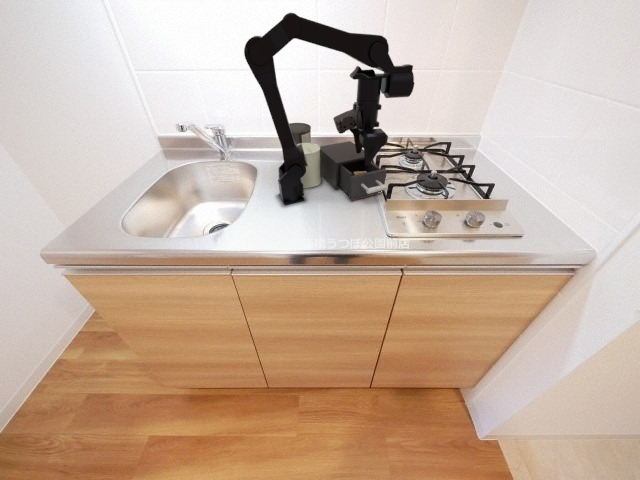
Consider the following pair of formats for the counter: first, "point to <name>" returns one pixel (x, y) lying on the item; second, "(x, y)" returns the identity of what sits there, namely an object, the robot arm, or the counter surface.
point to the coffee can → (301, 132)
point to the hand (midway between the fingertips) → (362, 159)
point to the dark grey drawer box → (337, 159)
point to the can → (311, 165)
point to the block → (359, 172)
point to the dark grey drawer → (361, 179)
